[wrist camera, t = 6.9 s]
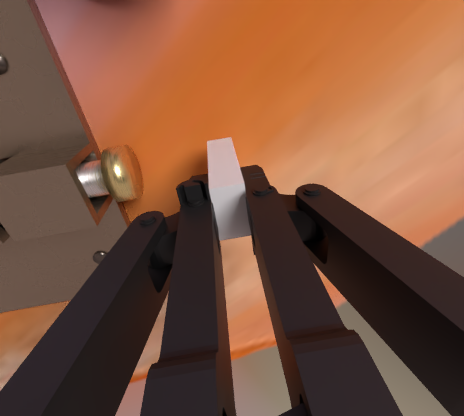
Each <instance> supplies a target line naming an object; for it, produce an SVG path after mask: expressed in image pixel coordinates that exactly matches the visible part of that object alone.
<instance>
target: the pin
mask: <svg viewBox="0 0 464 416" xmlns="http://www.w3.org/2000/svg"><path fill="white" fill-rule="evenodd" d="M75 171H76V173H77V175H78V177H79V179H80V181H81V183H82V185H83V187H84V189H85V191H86V193H87V195H88V197H89V198H92V197H97V196H103V195H108V194H110V195H111V196H112V198H113V199H114V200H116V201H117V202H122V201H128V200H133V199H139V198H141V196H142V193H143V178H142V172H141V168H140V165H139V162H138V159H137V157H136V155H135V153H134V151H133V150H132V149H131V148H130V147H129V146H128V145H123V146H117V147H112V148H106V149H104V150H103V152H102V154H101V160H97V161H91V162H86V163H80V164H79V165H78V166H77V167H76V168H75Z"/></svg>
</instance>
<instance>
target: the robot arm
mask: <svg viewBox="0 0 464 416" xmlns="http://www.w3.org/2000/svg"><path fill="white" fill-rule="evenodd" d="M207 151H208V174H203V175H197V176H192V177H191V178H190V179H189V180H187V181H185V182H182V183H181V184H179V185H178V186H177V188H176V190H177V194H178V198H179V201H180V205H181V207H180V211H179V212H178V213H176V214H174V215H171V216H168V217H165V218H164V215H163V213H161V212H159V211H151V212H146V213H143V214H141V215H140V216H138V217H136V218H135V219H134V220H133V221H132V223H131V224H130V225H129V226H128V228H127V229H126V230H125V232H124V233H123V234H122V235H121V237H120V238H119V239H118V241H117V242H116V243H115V244H114V246H113V247H112V248H111V250H110V251H109V252H108V253H107V255H106V256H105V257H104V259H103V260H102V261H101V262H100V264H99V265H98V266H97V268H96V269H95V270H94V271H93V273H92V274H91V275H90V277H89V278H88V279H87V280H86V282H85V283H84V284H83V286H82V287H81V288H80V290H79V291H78V292H77V293H76V295H75V296H74V297H73V299H72V300H71V301H70V302H69V304H68V305H67V306H66V308H65V309H64V310H63V311H62V313H61V314H60V315H59V317H58V318H57V319H56V320H55V322H54V323H53V324H52V326H51V327H50V328H49V329H48V331H47V332H46V333H45V335H44V336H43V337H42V338H41V340H40V341H39V342H38V344H37V345H36V346H35V347H34V349H33V350H32V351H31V353H30V354H29V355H28V356H27V358H26V359H25V360H24V362H23V363H22V364H21V365H20V367H19V368H18V369H17V371H16V372H15V373H14V374H13V376H12V377H11V378H10V380H9V381H8V382H7V383H6V385H5V386H4V387H3V389H2V390H1V391H0V416H115V414H116V412H117V410H118V407H119V405H120V403H121V400H122V398H123V396H124V394H125V391H126V389H127V386H128V384H129V382H130V380H131V377H132V375H133V373H134V370H135V368H136V366H137V363H138V361H139V359H140V356H141V354H142V352H143V349H144V347H145V345H146V342H147V340H148V338H149V335H150V333H151V331H152V328H153V326H154V324H155V321H156V319H157V317H158V314H159V312H160V310H161V307H162V305H163V303H164V300H165V298H166V296H167V293H168V291H169V294H168V301H167V308H166V316H165V323H164V330H163V337H162V345H161V352H160V357H159V360H158V362H157V363H154V364H152V365H151V367H150V369H149V371H148V375H147V379H146V384H145V390H144V396H143V402H142V408H141V414H140V416H236V410H235V401H234V390H233V379H232V367H231V356H230V345H229V333H228V322H227V311H226V300H225V289H224V277H223V266H222V255H221V246H220V241H219V240H226V239H232V238H238V237H244V236H250V235H251V236H252V244H253V251H254V255H256V259H257V263H258V268H259V272H260V276H261V280H262V284H263V288H264V292H265V297H266V301H267V305H268V309H269V313H270V317H271V321H272V325H273V330H274V334H275V338H276V342H277V346H278V350H279V354H280V359H281V362H282V367H283V371H284V375H285V379H286V383H287V387H288V392H289V396H290V401H291V407H292V409H290V410H288V411H287V412H285V413H283V414H281V415H279V416H403V415H402V413H401V412H400V410H399V408H398V406H397V404H396V402H395V400H394V399H393V396H392V395H391V393H390V391H389V389H388V387H387V385H386V383H385V382H384V380H383V378H382V376H381V374H380V372H379V370H378V369H377V367H376V365H375V363H374V361H373V359H372V357H371V355H370V353H369V352H368V350H367V348H366V346H365V344H364V342H363V341H362V339H361V338H360V336H359V334H358V333H356V332H355V331H354V330H348V329H347V328H346V327H345V326H344V324H343V322H342V320H341V318H340V316H339V314H338V312H337V310H336V308H335V306H334V304H333V302H332V300H331V298H330V296H329V294H328V292H327V290H326V288H325V286H324V284H323V282H322V280H321V278H320V276H319V274H318V272H317V270H316V268H315V266H314V264H315V265H316V266H317V267H318V268H319V270H320V271H321V272H322V273H323V274H324V275H325V276H326V277H327V278H328V280H329V281H330V282H331V283H332V284H333V285H334V286H335V287H336V288H337V290H338V291H339V292H340V293H341V294H342V295H343V296H344V297H345V298H346V299H347V301H348V302H349V303H350V304H351V305H352V306H353V307H354V308H355V309H356V311H358V313H359V314H360V315H361V316H362V317H363V318H364V319H365V320H366V322H367V323H368V324H369V325H370V326H371V327H372V328H373V329H374V330H375V331H376V333H377V334H378V335H379V336H380V337H381V338H382V339H383V340H384V341H385V343H386V344H387V345H388V346H389V347H390V348H391V349H392V350H393V351H394V353H395V354H396V355H397V356H398V357H399V358H400V359H401V360H402V361H403V363H404V364H405V365H406V366H407V367H408V368H409V369H410V370H411V371H412V373H413V374H414V375H415V376H416V377H417V378H418V379H419V380H420V381H421V382H422V384H423V385H424V386H425V387H426V388H427V389H428V390H429V391H430V392H431V393H432V395H433V396H434V397H435V398H436V399H437V400H438V401H439V402H440V403H441V404H442V406H443V407H444V408H445V409H446V410H447V411H448V412H449V413H450V415H452V416H464V277H462V276H461V275H459V274H458V273H456V272H455V271H453V270H452V269H450V268H449V267H447V266H445V265H444V264H443V263H441V262H439V261H438V260H436V259H435V258H433V257H432V256H430V255H429V254H427V253H426V252H424V251H423V250H421V249H420V248H418V247H417V246H415V245H414V244H412V243H411V242H409V241H407V240H406V239H404V238H403V237H401V236H400V235H398V234H397V233H395V232H394V231H392V230H391V229H389V228H388V227H386V226H385V225H383V224H381V223H380V222H378V221H377V220H375V219H374V218H372V217H371V216H369V215H368V214H366V213H365V212H363V211H362V210H360V209H359V208H357V207H356V206H354V205H352V204H351V203H349V202H348V201H346V200H345V199H343V198H342V197H340V196H339V195H337V194H336V193H334V192H333V191H331V190H330V189H328V188H326V187H324V186H322V185H318V184H307V185H302V186H300V187H298V188H297V189H296V192H295V195H283V194H279V193H278V192H277V190H276V188H275V187H273V186H271V185H270V184H269V182H268V180H267V178H266V176H265V173H264V171H263V169H262V168H261V167H259V166H258V165H252V166H246V167H240V166H239V163H238V159H237V156H236V153H235V149H234V146H233V142H232V139H231V137H229V138H223V139H217V140H211V141H207ZM313 263H314V264H313Z"/></svg>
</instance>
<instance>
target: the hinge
mask: <svg viewBox="0 0 464 416" xmlns="http://www.w3.org/2000/svg"><path fill="white" fill-rule="evenodd" d="M97 160H101V153H100V151H99V149H98V146H97V144H96V142H95V139H94V137H93V135H92V133H91V130H90V128H89V126H88V123H87V121H86V119H85V116H84V114H83V112H82V109H81V107H80V105H79V102H78V100H77V98H76V95H75V93H74V91H73V89H72V86H71V84H70V82H69V79H68V77H67V75H66V72H65V70H64V68H63V65H62V63H61V61H60V58H59V56H58V54H57V51H56V49H55V47H54V44H53V42H52V40H51V38H50V35H49V33H48V31H47V28H46V26H45V24H44V21H43V19H42V17H41V14H40V12H39V10H38V7H37V5H36V3H35V0H0V313H2V312H7V311H13V310H18V309H24V308H29V307H35V306H40V305H46V304H51V303H57V302H63V301H68V300H72V299H73V297H74V296H75V295H76V293H77V292H78V291H79V290H80V288H81V287H82V286H83V284H84V283H85V282H86V280H87V279H88V278H89V277H90V275H91V274H92V273H93V271H94V270H95V269H96V268H97V266H98V265H99V264H100V262H101V261H102V260H103V259H104V257H105V256H106V255H107V253H108V252H109V251H110V250H111V248H112V247H113V246H114V244H115V243H116V242H117V241H118V239H119V238H120V237H121V235H122V234H123V233H124V232H125V230H126V229H127V228H128V226H129V225H130V224H131V223H130V221H129V218H128V216H127V214H126V211H125V209H124V207H123V204H122V202H117V201H116V200H114V199H113V198H112V196H111V195H110V194H108V195H103V196H97V197H92V198H89V197H88V195H87V193H86V191H85V189H84V187H83V185H82V183H81V181H80V179H79V177H78V175H77V173H76V171H75V168H76V167H77V166H78V165H79V164H80V163H86V162H91V161H97Z"/></svg>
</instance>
